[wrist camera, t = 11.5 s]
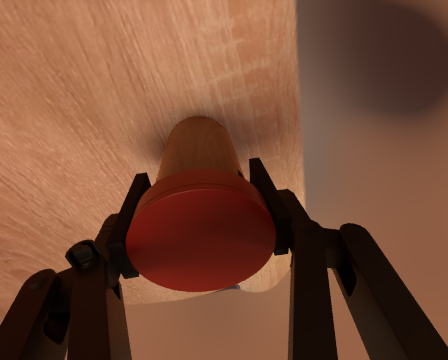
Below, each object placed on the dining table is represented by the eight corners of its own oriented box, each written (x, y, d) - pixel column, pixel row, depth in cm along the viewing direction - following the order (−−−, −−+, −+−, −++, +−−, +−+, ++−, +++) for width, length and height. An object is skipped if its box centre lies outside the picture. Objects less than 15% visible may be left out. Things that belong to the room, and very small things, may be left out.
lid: (289, 227, 14) (300, 251, 12) (195, 280, 15) (195, 306, 14) (215, 137, 10) (219, 155, 8) (103, 221, 12) (89, 248, 10)
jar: (217, 105, 19) (239, 169, 10) (240, 162, 23) (273, 251, 13) (153, 132, 20) (115, 217, 11) (185, 184, 24) (178, 284, 14)
